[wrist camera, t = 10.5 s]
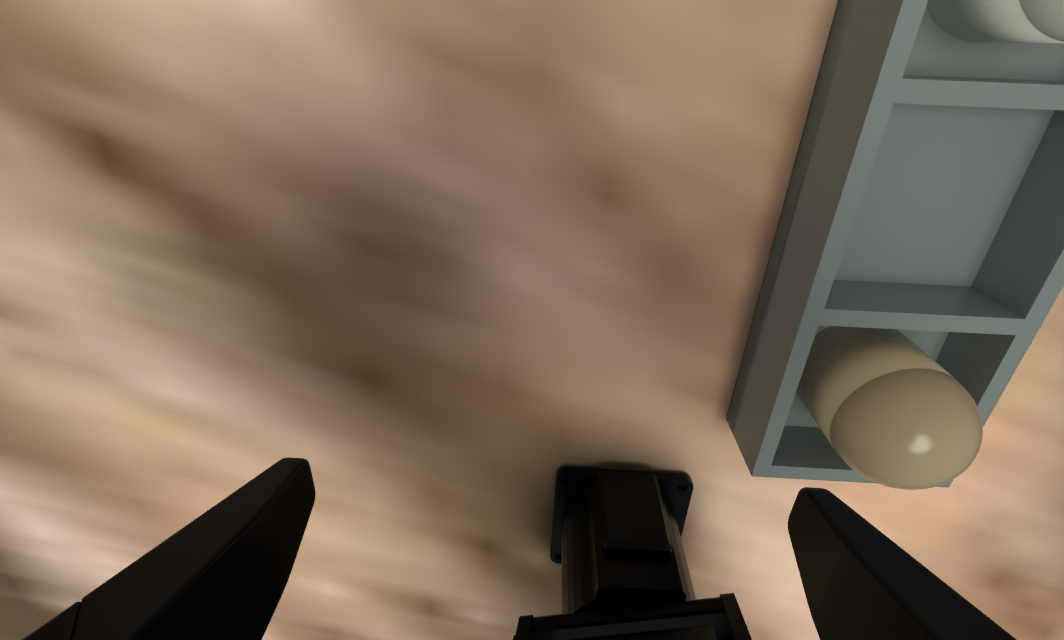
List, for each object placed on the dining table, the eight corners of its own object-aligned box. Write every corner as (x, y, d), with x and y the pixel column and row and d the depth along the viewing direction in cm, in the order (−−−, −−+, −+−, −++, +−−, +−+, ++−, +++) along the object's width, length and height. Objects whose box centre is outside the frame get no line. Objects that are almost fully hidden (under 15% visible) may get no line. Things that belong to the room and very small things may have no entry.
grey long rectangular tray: (897, 428, 23) (948, 487, 20) (726, 419, 24) (751, 475, 21) (1197, -211, 13) (1388, -285, 10) (897, -220, 14) (997, -295, 11)
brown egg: (885, 413, 22) (980, 523, 17) (778, 407, 22) (842, 515, 17) (926, 321, 20) (1049, 415, 15) (809, 315, 20) (892, 407, 15)
